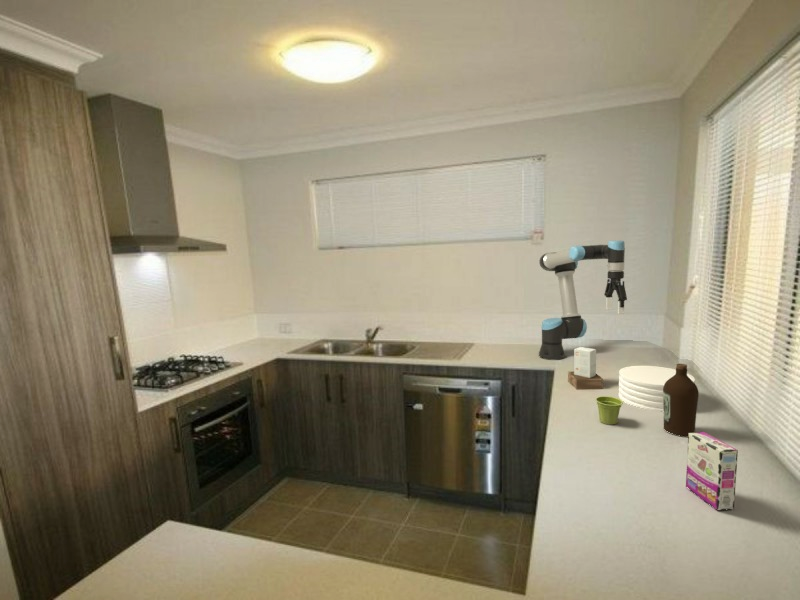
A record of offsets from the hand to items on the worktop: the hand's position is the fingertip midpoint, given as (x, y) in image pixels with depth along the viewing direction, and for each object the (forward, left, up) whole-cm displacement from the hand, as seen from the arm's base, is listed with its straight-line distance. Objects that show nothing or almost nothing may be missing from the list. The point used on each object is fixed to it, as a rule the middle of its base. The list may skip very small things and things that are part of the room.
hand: (614, 311), depth 218 cm
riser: (+19, -22, -33) cm, 44 cm away
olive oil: (+71, -8, -33) cm, 79 cm away
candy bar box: (+112, -24, -33) cm, 119 cm away
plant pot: (+62, -29, -33) cm, 76 cm away
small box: (+19, -22, -28) cm, 40 cm away
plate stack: (+40, 0, -33) cm, 52 cm away
